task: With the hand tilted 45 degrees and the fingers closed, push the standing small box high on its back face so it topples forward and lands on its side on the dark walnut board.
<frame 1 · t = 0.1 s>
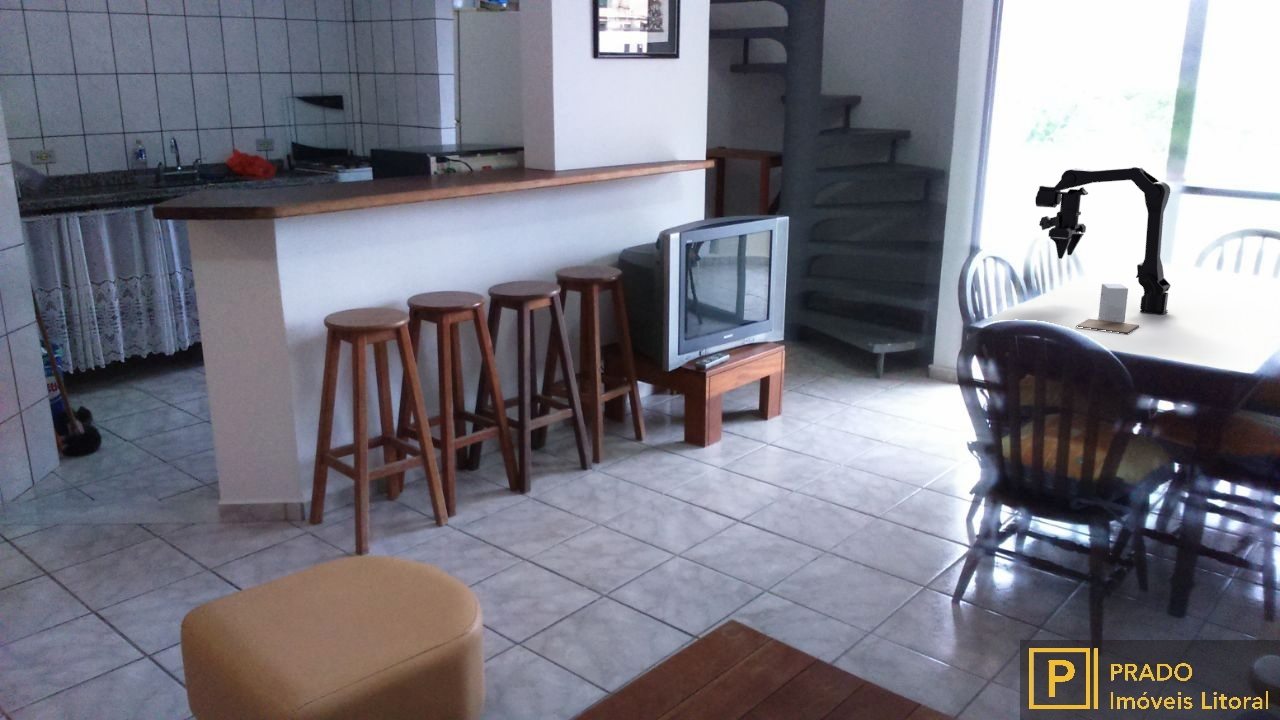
hand: (1064, 256, 322), 15 cm above the table, tool pointing down, fingers open, 9 cm apart
small box: (1111, 320, 298), on the table
walnut board: (1107, 327, 289), on the table
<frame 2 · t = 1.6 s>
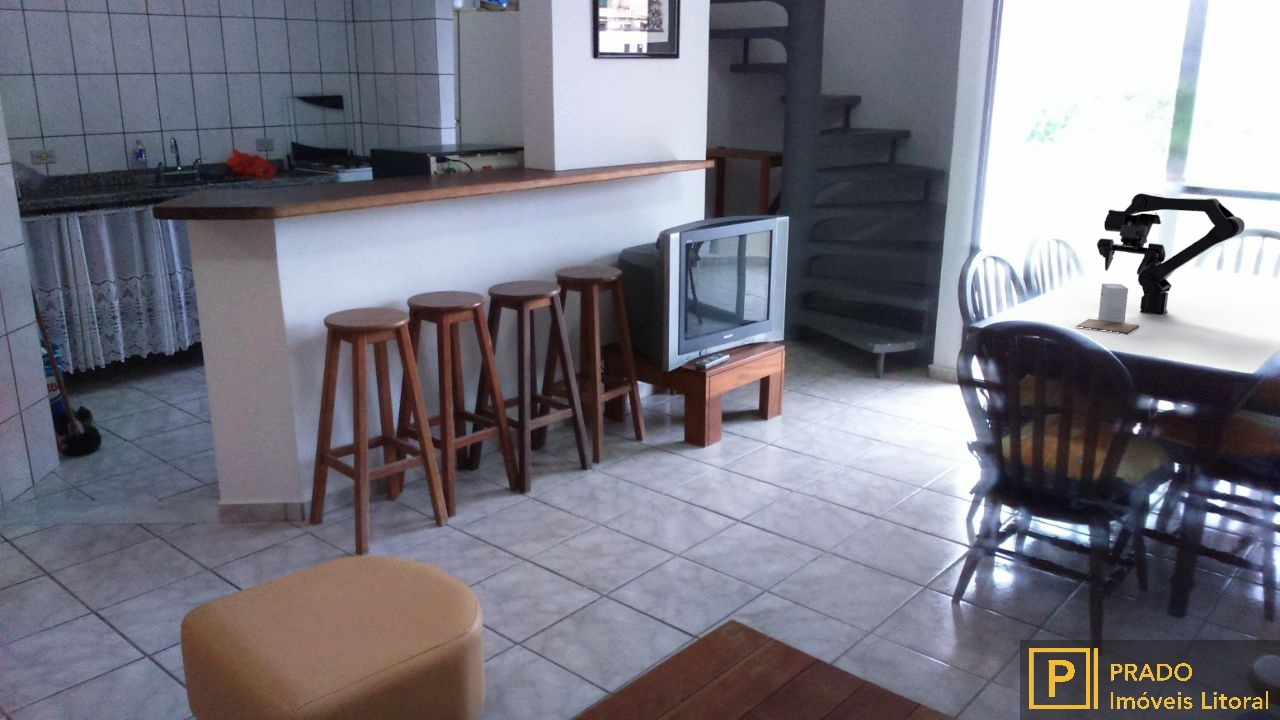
hand: (1121, 271, 300), 14 cm above the table, tool tilted 45°, fingers open, 9 cm apart
nothing on the table moved.
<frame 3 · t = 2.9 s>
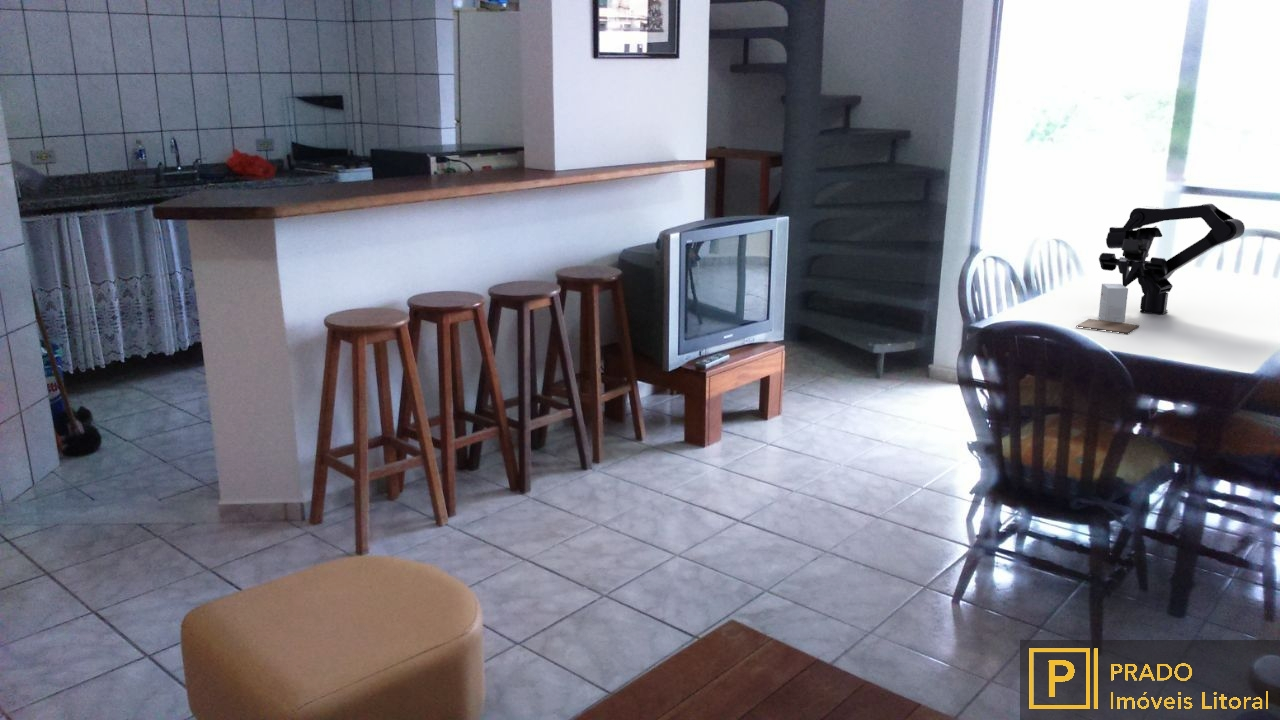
hand: (1124, 285, 301), 9 cm above the table, tool tilted 45°, fingers closed
nothing on the table moved.
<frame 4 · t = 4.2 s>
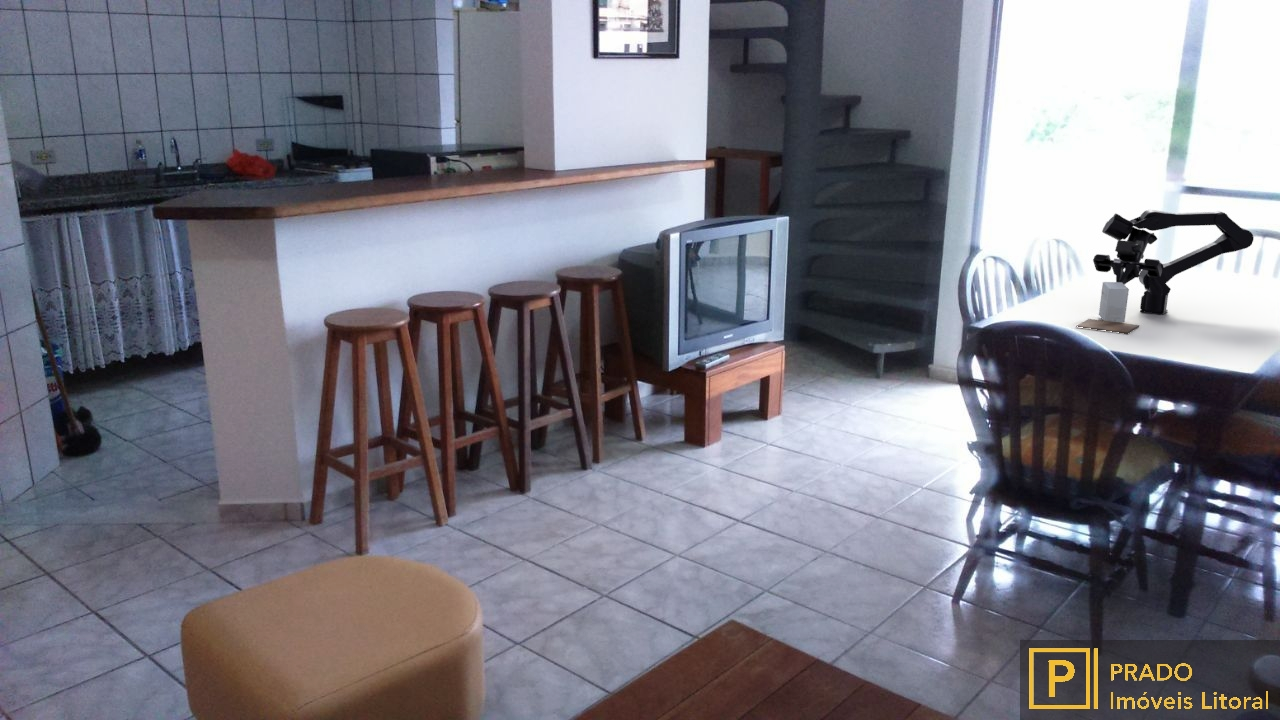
hand: (1117, 287, 299), 9 cm above the table, tool tilted 45°, fingers closed
small box: (1111, 319, 298), on the table, touching gripper
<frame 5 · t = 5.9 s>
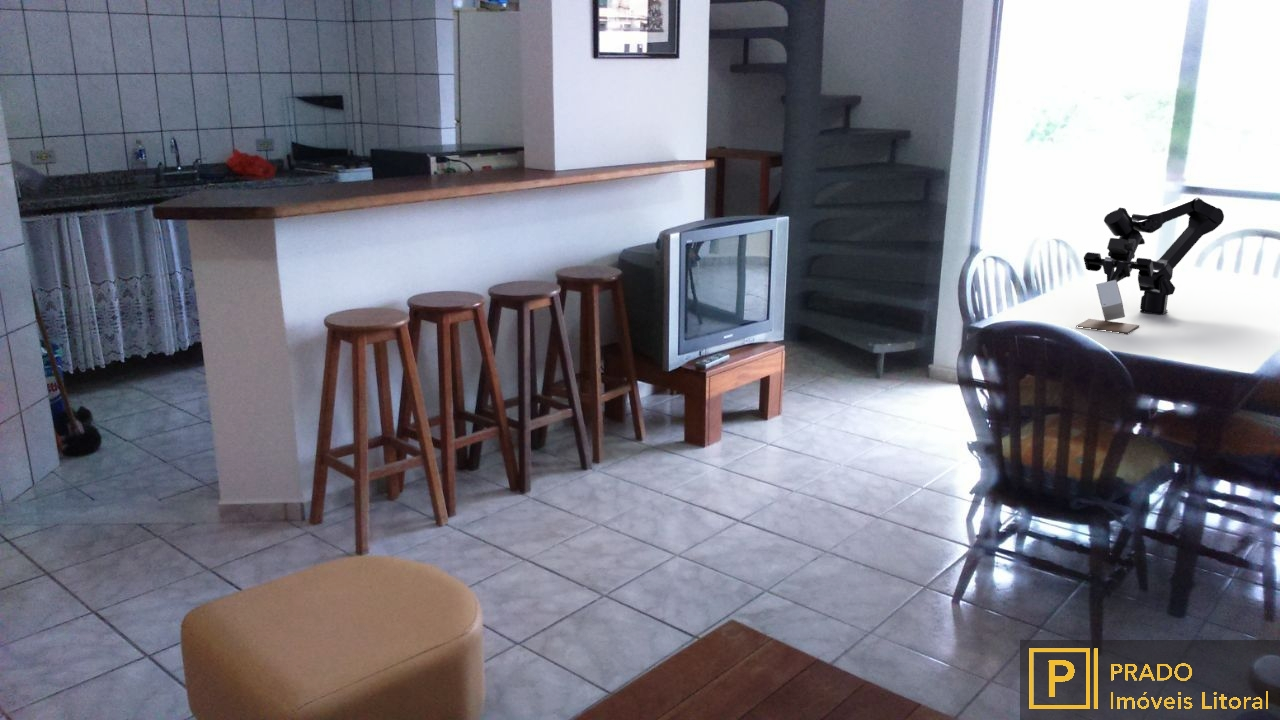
hand: (1108, 286, 292), 11 cm above the table, tool tilted 50°, fingers closed
small box: (1112, 308, 296), point 4 cm above the table, touching gripper, walnut board
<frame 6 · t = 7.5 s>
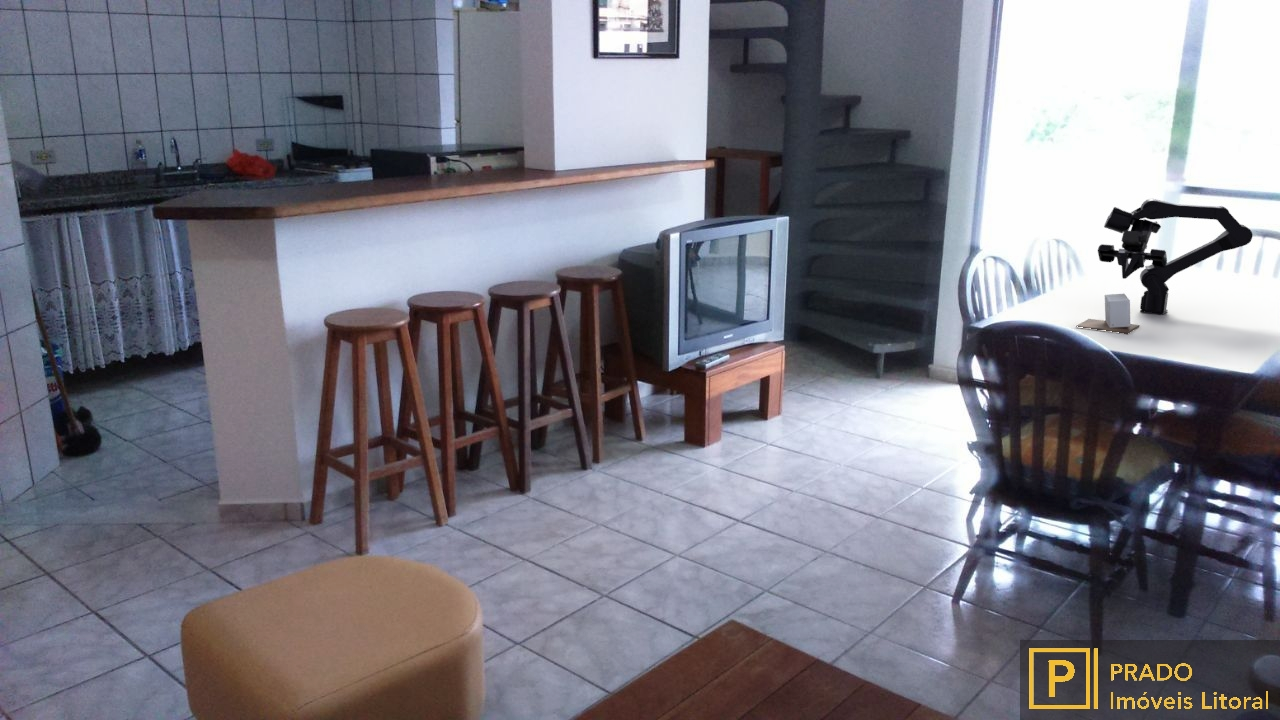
hand: (1123, 277, 298), 12 cm above the table, tool tilted 45°, fingers closed
small box: (1114, 306, 293), point 5 cm above the table, touching walnut board
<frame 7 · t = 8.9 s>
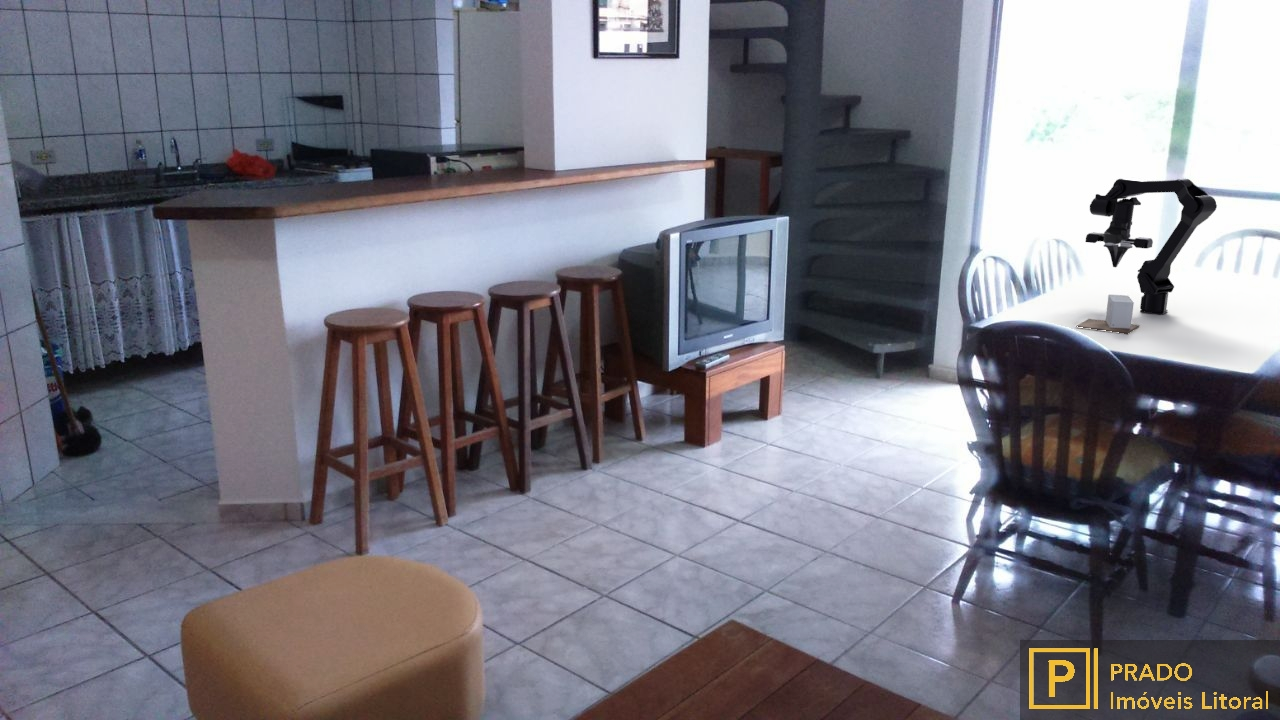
hand: (1114, 267, 318), 12 cm above the table, tool pointing down, fingers closed
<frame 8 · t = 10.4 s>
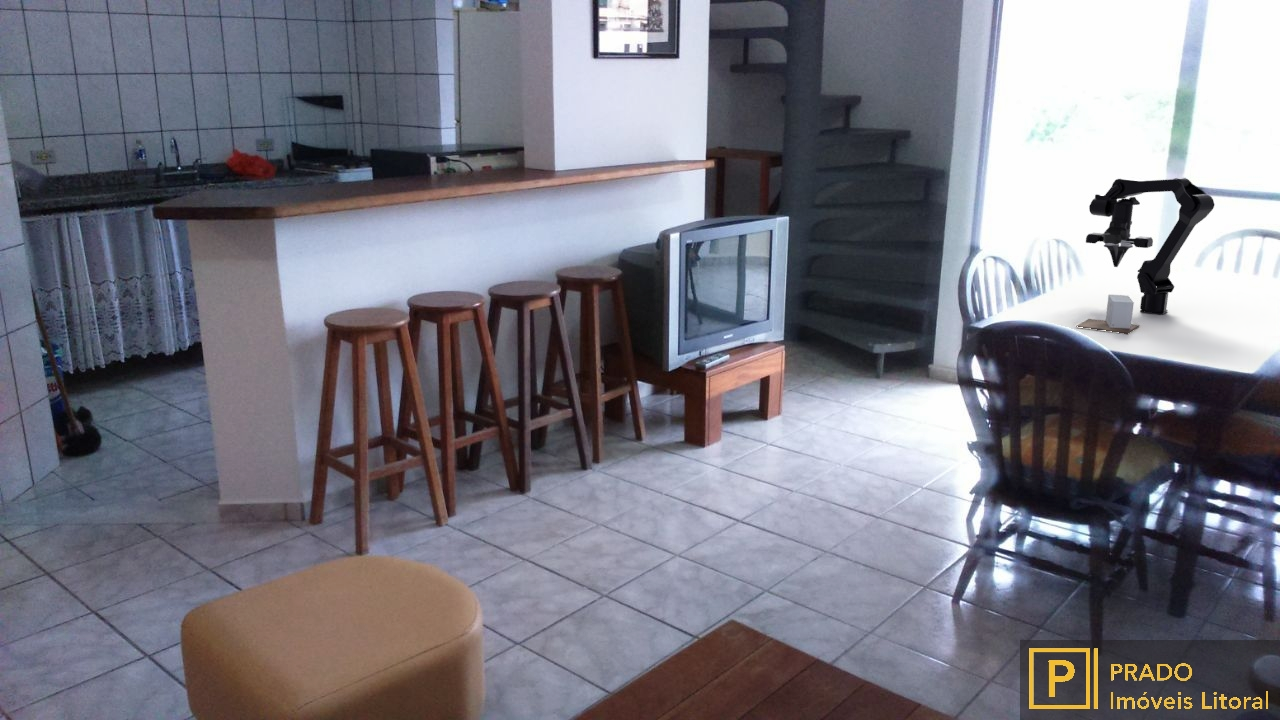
hand: (1115, 266, 318), 12 cm above the table, tool pointing down, fingers closed
nothing on the table moved.
at the end: small box tilted 91°; small box inside the target area on the walnut board (6.4 cm from its centre), point 4.7 cm above the walnut board's base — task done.
